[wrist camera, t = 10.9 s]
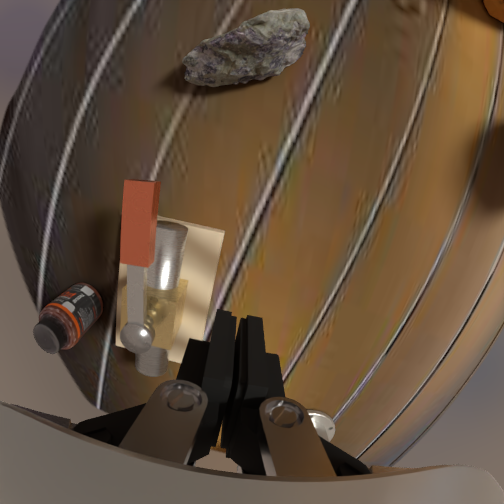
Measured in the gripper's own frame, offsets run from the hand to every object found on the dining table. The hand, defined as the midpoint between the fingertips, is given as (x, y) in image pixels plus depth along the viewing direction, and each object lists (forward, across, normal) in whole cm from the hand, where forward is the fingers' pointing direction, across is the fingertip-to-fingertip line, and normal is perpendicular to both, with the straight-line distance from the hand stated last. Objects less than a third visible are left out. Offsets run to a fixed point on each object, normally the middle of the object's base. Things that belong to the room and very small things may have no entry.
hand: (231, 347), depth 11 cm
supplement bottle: (+26, +20, +15) cm, 35 cm away
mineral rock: (+26, +4, -21) cm, 33 cm away
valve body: (+24, +8, +10) cm, 27 cm away
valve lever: (+15, +8, +4) cm, 18 cm away
